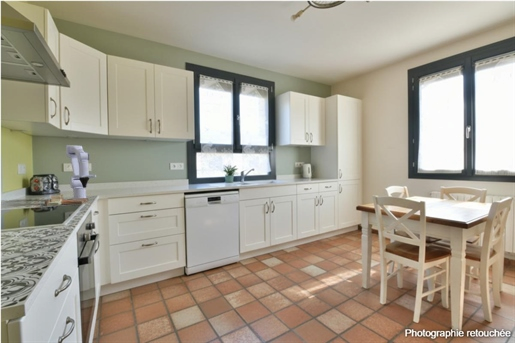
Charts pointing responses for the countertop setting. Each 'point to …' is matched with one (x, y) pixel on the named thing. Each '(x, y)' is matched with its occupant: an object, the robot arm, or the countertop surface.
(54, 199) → the maple block
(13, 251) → the countertop surface
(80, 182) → the robot arm
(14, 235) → the countertop surface
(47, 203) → the trap deck
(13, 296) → the countertop surface
